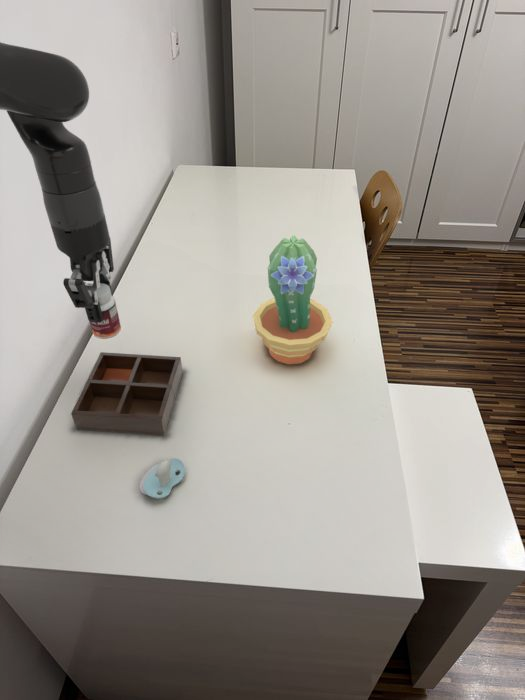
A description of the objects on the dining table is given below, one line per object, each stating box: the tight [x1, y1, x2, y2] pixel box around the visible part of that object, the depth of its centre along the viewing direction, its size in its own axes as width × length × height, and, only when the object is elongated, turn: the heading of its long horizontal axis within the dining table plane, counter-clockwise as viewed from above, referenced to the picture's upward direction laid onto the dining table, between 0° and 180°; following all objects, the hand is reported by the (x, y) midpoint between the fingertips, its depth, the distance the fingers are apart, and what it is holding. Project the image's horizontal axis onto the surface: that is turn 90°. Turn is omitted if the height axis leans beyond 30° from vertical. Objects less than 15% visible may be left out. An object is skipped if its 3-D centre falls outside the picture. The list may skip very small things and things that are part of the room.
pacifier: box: [138, 458, 186, 500], centre depth 76 cm, size 7×6×6 cm
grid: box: [70, 351, 184, 436], centre depth 90 cm, size 15×15×4 cm
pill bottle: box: [88, 283, 122, 340], centre depth 82 cm, size 5×5×8 cm
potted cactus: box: [252, 235, 333, 365], centre depth 93 cm, size 16×15×25 cm
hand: (101, 310), depth 82 cm, fingers closed on pill bottle, 4 cm apart
